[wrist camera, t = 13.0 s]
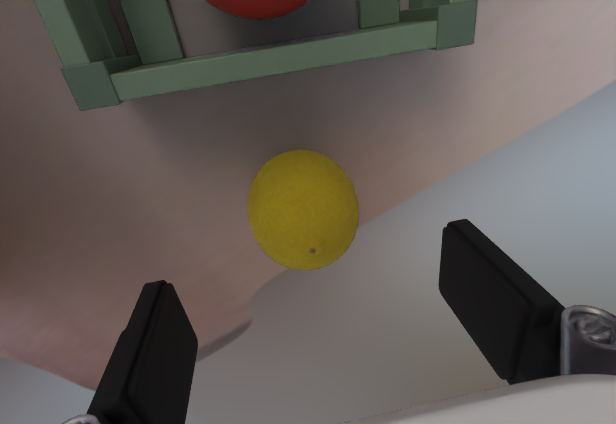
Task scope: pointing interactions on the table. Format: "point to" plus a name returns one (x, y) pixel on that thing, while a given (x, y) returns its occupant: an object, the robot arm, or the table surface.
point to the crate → (235, 63)
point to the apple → (257, 7)
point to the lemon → (303, 209)
